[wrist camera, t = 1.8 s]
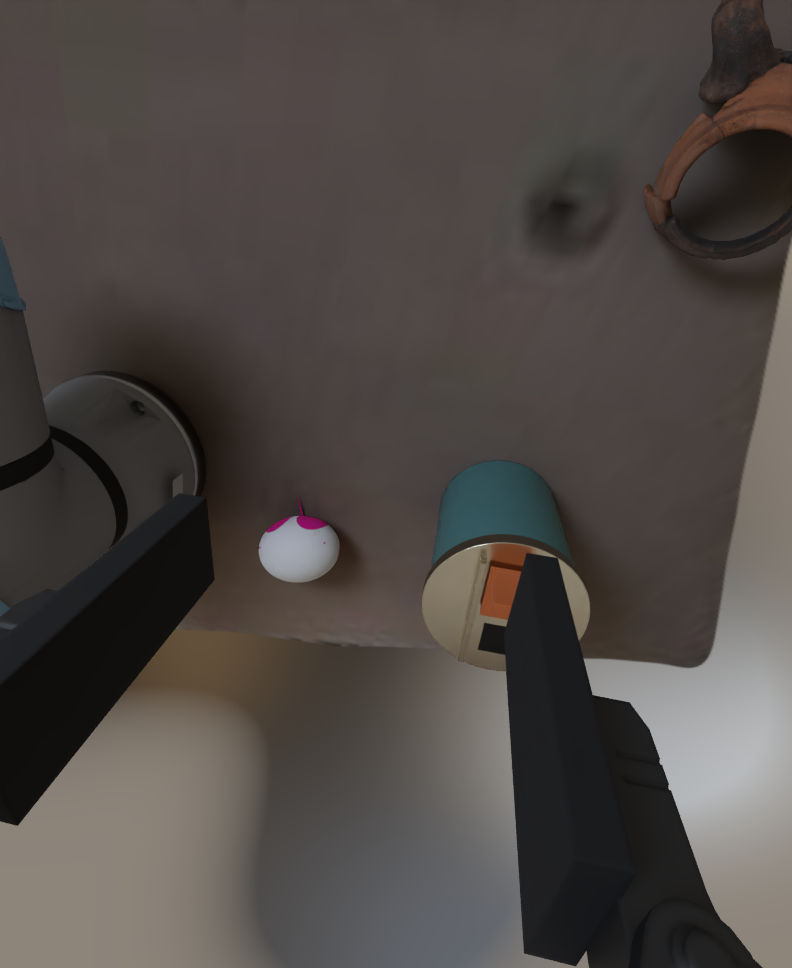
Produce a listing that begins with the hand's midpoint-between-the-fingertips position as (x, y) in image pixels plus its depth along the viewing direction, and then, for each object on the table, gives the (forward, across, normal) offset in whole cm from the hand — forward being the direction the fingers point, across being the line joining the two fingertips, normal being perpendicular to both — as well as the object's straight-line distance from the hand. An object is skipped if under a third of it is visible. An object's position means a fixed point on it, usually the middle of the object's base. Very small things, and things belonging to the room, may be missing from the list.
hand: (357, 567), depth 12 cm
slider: (+14, +7, -11) cm, 19 cm away
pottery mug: (+28, +15, +15) cm, 35 cm away
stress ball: (+28, -10, -18) cm, 34 cm away
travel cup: (+27, +7, -13) cm, 31 cm away
